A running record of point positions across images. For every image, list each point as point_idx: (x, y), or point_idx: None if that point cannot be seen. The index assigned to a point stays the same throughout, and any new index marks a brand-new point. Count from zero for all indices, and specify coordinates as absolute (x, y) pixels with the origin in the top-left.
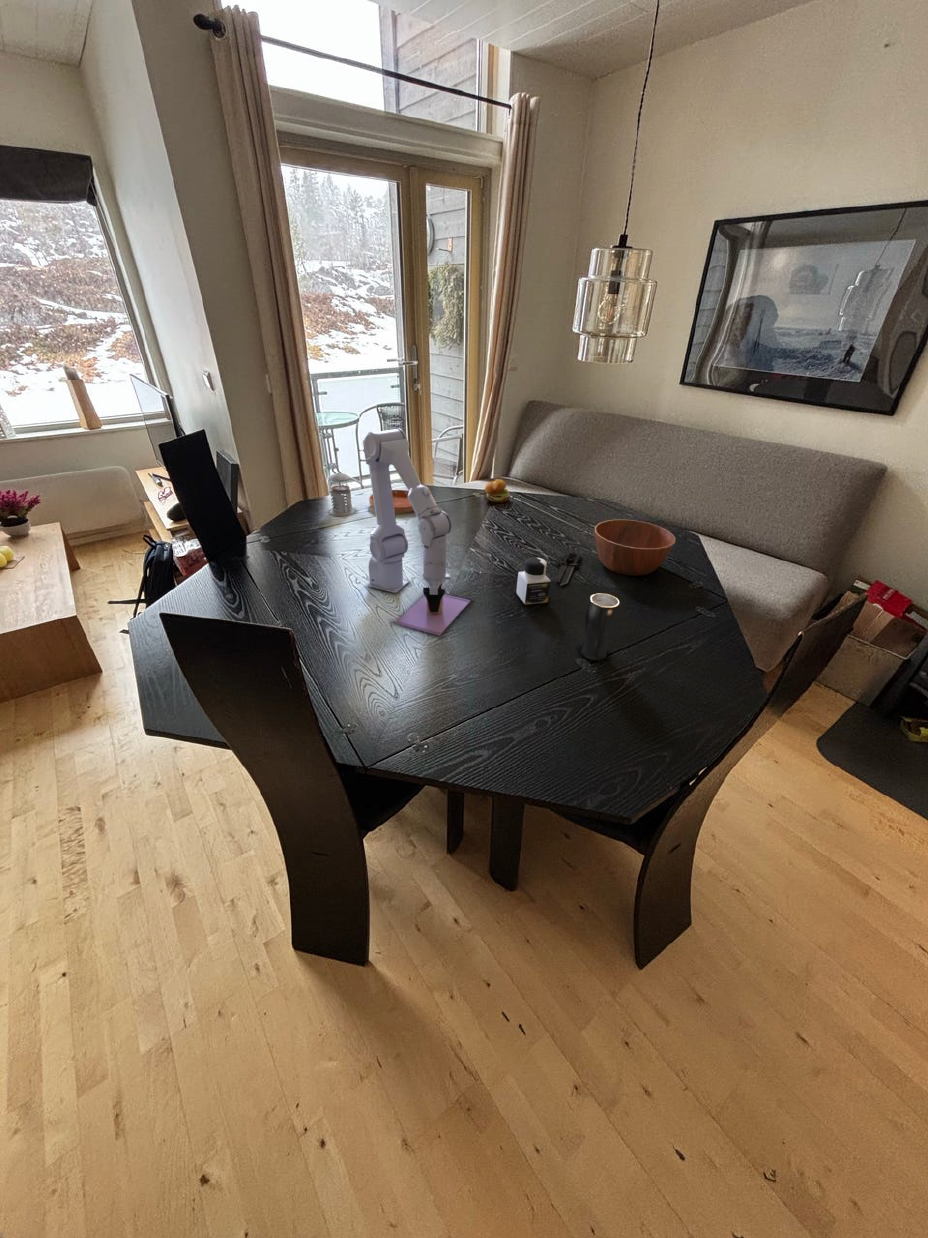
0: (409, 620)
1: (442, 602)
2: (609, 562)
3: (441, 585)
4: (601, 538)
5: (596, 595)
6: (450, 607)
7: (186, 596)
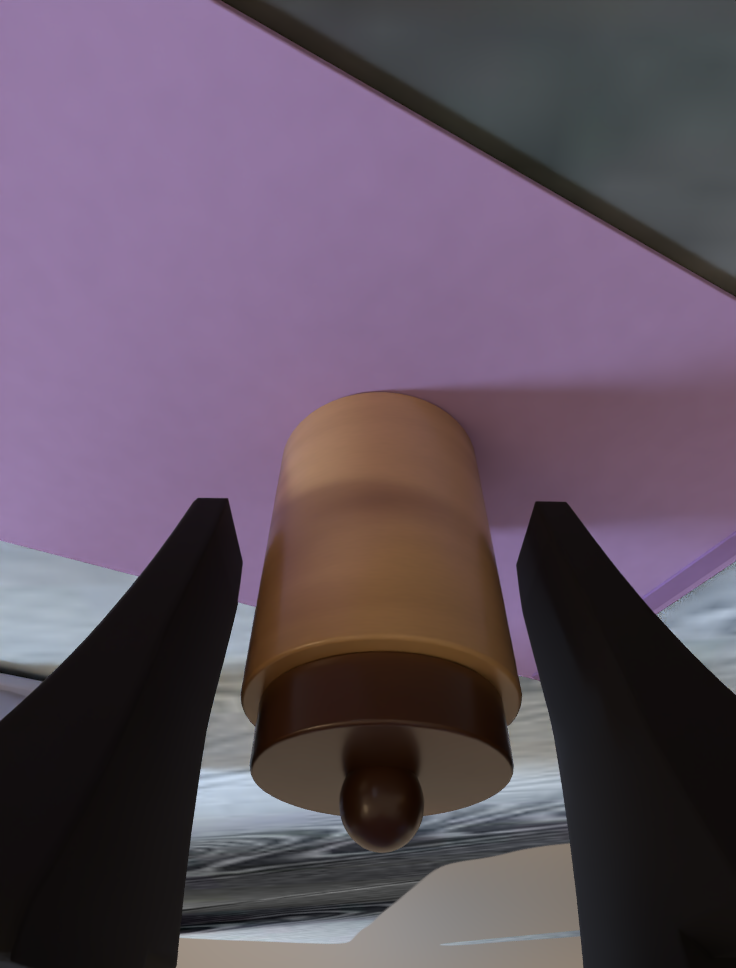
0: None
1: (423, 506)
2: None
3: (139, 699)
4: None
5: None
6: (263, 289)
7: (310, 938)
